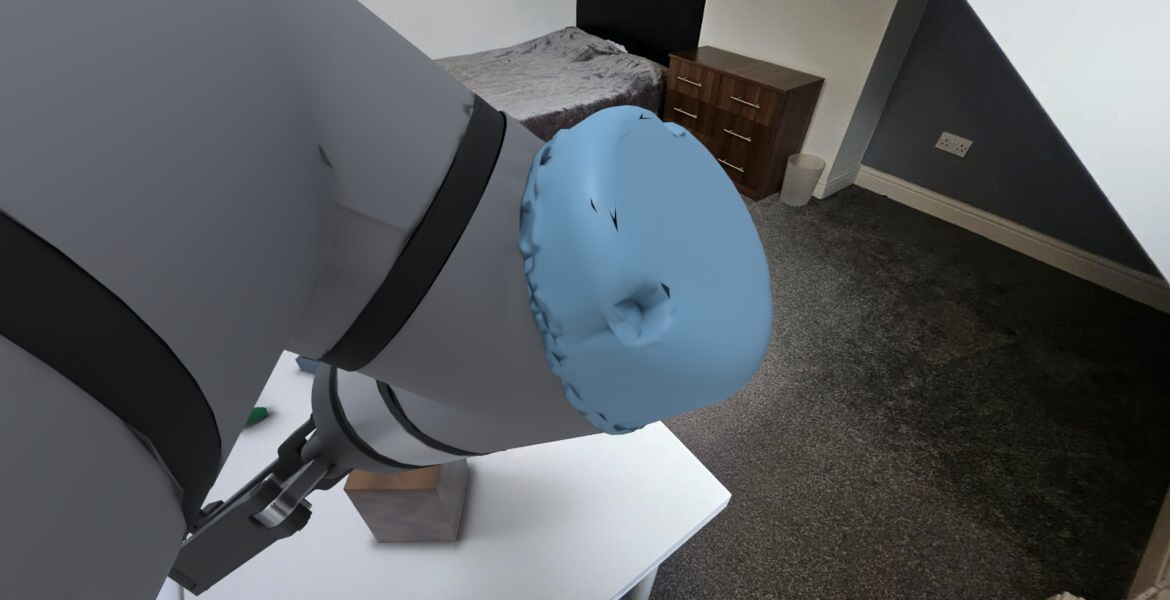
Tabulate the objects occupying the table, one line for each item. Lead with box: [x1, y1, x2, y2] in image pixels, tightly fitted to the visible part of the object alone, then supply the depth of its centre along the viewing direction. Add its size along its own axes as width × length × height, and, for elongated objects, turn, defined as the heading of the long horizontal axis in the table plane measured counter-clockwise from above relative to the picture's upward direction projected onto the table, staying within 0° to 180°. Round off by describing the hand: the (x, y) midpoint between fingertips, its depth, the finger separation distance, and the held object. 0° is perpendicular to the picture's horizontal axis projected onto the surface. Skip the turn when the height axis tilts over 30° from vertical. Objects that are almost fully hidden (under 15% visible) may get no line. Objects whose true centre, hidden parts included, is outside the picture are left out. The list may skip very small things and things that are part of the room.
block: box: [342, 458, 470, 543], centre depth 59 cm, size 10×10×14 cm
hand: (305, 439), depth 35 cm, fingers open, 13 cm apart
